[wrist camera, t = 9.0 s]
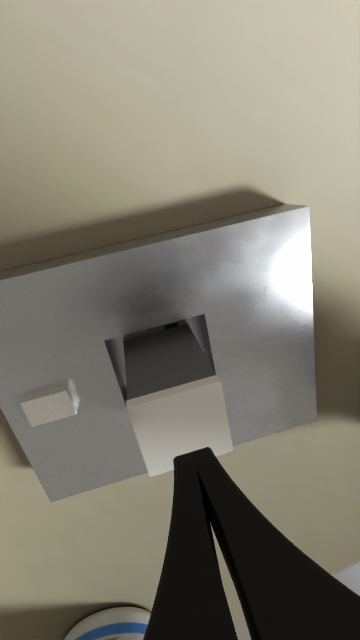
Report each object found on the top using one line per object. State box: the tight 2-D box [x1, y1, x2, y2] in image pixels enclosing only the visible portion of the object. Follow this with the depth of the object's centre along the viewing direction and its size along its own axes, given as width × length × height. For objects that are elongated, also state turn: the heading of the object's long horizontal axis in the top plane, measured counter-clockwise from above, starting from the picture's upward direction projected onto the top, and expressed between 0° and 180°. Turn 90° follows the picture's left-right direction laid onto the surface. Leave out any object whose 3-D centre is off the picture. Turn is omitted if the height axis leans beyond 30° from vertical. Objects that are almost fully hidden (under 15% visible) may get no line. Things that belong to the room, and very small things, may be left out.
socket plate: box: [0, 204, 317, 502], centre depth 19 cm, size 18×14×3 cm
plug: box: [123, 324, 233, 477], centre depth 18 cm, size 4×4×6 cm
